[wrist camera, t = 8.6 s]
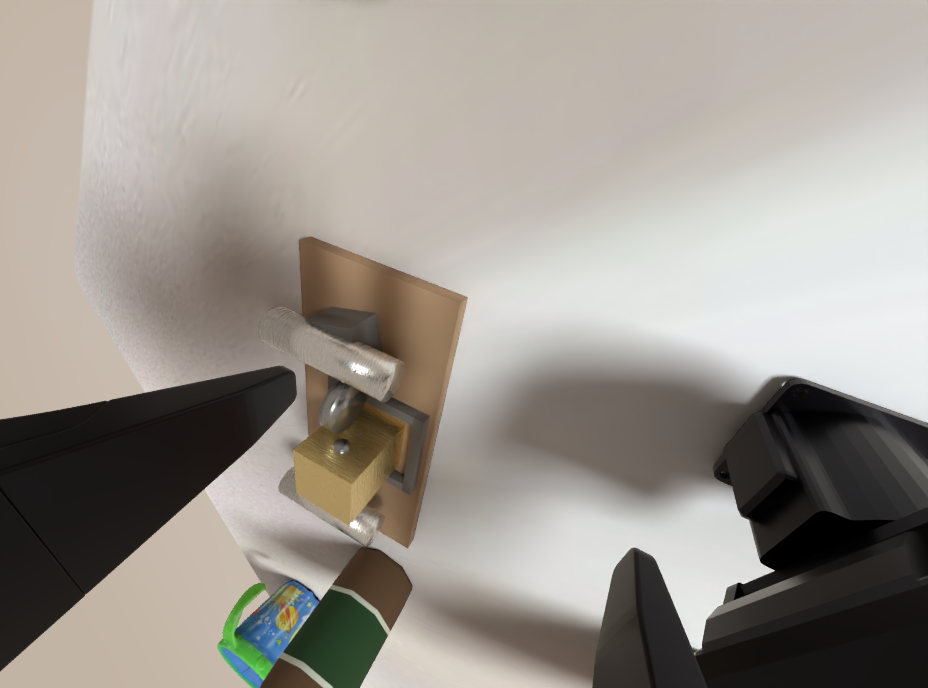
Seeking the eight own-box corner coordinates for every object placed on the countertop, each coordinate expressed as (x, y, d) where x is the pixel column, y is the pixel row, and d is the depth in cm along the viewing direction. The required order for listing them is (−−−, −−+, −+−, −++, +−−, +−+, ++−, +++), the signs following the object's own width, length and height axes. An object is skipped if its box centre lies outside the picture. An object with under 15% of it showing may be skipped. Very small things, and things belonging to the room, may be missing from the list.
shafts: (411, 349, 22) (375, 380, 19) (386, 521, 32) (360, 558, 29) (296, 298, 24) (248, 318, 22) (306, 473, 34) (275, 503, 32)
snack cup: (261, 552, 55) (193, 622, 47) (308, 568, 50) (241, 651, 41) (304, 618, 60) (250, 693, 52) (351, 639, 55) (298, 725, 47)
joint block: (399, 465, 29) (349, 528, 24) (353, 440, 30) (296, 495, 25) (406, 420, 26) (351, 481, 22) (355, 394, 28) (292, 446, 23)
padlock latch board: (467, 297, 21) (439, 320, 18) (413, 539, 35) (392, 573, 32) (310, 236, 24) (265, 248, 21) (318, 482, 38) (291, 508, 35)
